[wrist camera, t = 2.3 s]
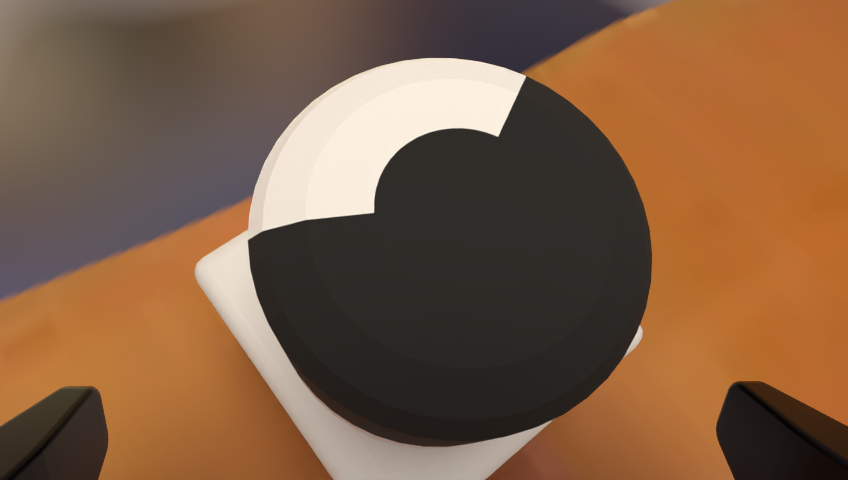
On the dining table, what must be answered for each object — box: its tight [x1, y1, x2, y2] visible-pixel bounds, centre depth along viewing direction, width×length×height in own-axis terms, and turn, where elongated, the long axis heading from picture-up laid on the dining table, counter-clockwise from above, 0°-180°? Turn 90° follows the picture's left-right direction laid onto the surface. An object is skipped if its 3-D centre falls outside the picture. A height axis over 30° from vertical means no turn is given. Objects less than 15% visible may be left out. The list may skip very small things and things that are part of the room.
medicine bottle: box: [195, 58, 652, 480], centre depth 14 cm, size 7×7×12 cm
